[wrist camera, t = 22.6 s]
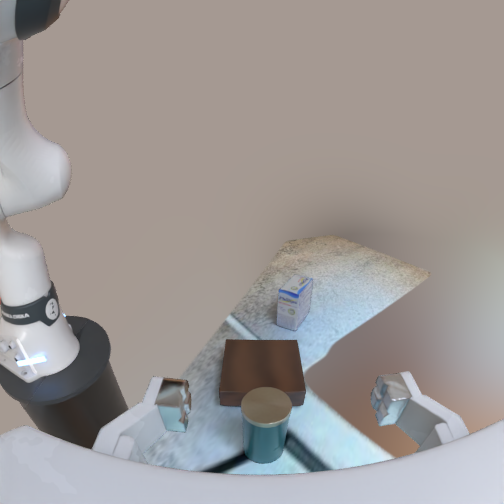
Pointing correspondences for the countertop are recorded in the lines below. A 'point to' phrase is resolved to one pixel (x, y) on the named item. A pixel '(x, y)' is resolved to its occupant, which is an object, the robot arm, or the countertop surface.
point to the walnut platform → (261, 369)
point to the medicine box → (294, 301)
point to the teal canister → (265, 423)
